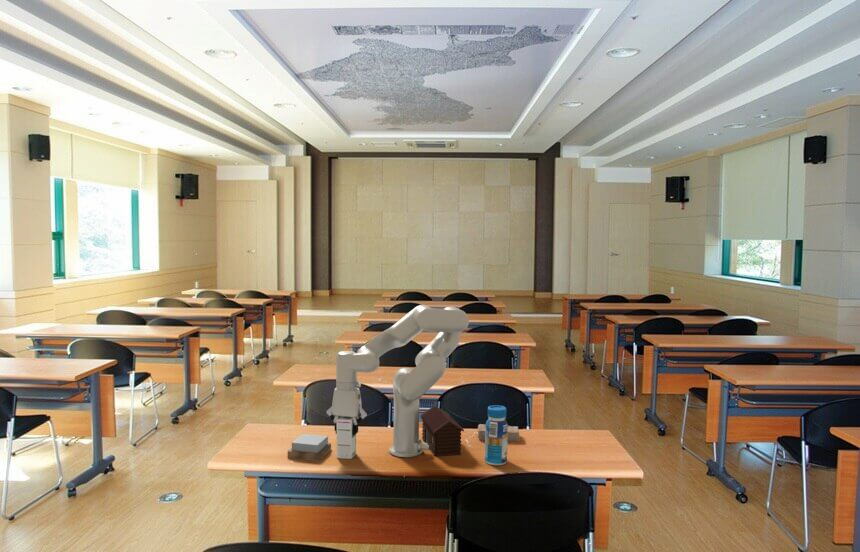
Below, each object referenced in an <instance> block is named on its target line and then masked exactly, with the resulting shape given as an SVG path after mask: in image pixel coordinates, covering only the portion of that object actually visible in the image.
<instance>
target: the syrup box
mask: <svg viewBox="0 0 860 552" xmlns="http://www.w3.org/2000/svg"><path fill="white" fill-rule="evenodd" d="M353 424H354V422H353V419H352V417H343V416H340V417H339V418H338V419H337V434H336V458H338V459H344V460H345V459H346V460H352V459H353V458H354V457H355V456H356V454H357V437H356V436H357V434H356V435H355V436H353Z"/></svg>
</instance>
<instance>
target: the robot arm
mask: <svg viewBox="0 0 860 552" xmlns="http://www.w3.org/2000/svg"><path fill="white" fill-rule="evenodd" d="M469 325H470V319H469V316H468V314H467V313H466V312H465V311H464V310H462V309H460V308H458V307H456V306H453V305H452V306H451V305H450V306H446V307H444V308H434V307H430V306H428V305H426V304H419V305H417V306H415V307H414V308H412V309H411V310H410V311H409V312H407V314H405V315H404V316H403V317H402V318H401V319H399V320H398V321H397V322H395V323H394V324H393V325H392V326H390V327H389V328H387V329H385V330H384V331H382V332H381V333H379V334H377V335H375V336H374V337H373V338H371V339H370V340H369V341H367V342H366V343H365V344H364V345H363V346H361V347H360V348H359V349H358V351H357V352H355V351H354V350H353V351H352V350H342V351H339V352H338V353H336V368H335V369H336V370H335V371H336V373H335V374H336V377H335V378H336V379H335V381H336V382H335V383H336V387H335V388H334V389H333V390H334V391H333V395H332V396H333V397H332V405H331V406H330V407H329V408H328V409H327V410H326V412H325V413H326V414H327V416H328V417H329V418H330V419H331V420H332V421H333V422H332V423H334V431H335V435H337V419H338V418H339V417H341V416H343V417H352V419H353V422H354V424H353V436H355V435H356V436H357V434H358V433H359V423H360V422H361V421H363V419H365V418H366V417H367V415H368V414H367V412H366V411H365V410H364V409H363V408H362V407H363V406H362V398H361V396H362V395H361V390H360V388H361V387H362V384H361V382H359V381H358V373H359V372H360V373H365V374H366V373H373V372H375V371H377V370H378V368H379V367H380V357H381V356H383V355H384V354H386V353H387V352H389V351H391V350H393V349H395V348H401V347H404V346H406V345H407V344H408V343H409V342H410V341H412V340H413V339H415V338H416V337H417V336H418V335H419V334H420V333H422V332H423V331H424V332H432V333H437V335H436V336H435V337H434V338H433V339H432V340H431V341H430V342H429V343H428V344H427V345H426V346H425V347H424V348H422V350H421V351H419V353H418V354H417V355H416V356H415V359H414V363H415V365H416V366H415V367H414V368H413V369H412V368H410V367H401V368H400V369H399V370H397V371H396V372H395V374H394V375H393V380H392V389H393V390H392V391H393V438H392V439H393V442H392V443H393V444H392V445H391V446H390V447H389V449H388V451H389V454H391V455H393V456H395V457H399V458H413V457H417V456H420V455H422V454H423V451H430V445H428V443H425V442H422V438H420V398H422V397H423V396H424V395H425V394H426V393H428V391H429V390H430V389H431V388H432V387H433V386H434V385H435V384H436V383H437V382H438V381H439V380H440V379H441V378H442V377H443V375H444V373H446V372H445V371H446V368H447V363H446V359H447V358H448V357H449V356H450V355H451V354H452V353H453V352H454V351H455V350H456V348H457V347H458V345H459V343H460V340H461V338H462V332H464V331H466V329H467V328H468V326H469ZM359 415H360V416H359Z"/></svg>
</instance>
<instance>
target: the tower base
mask: <svg viewBox="0 0 860 552" xmlns="http://www.w3.org/2000/svg"><path fill="white" fill-rule="evenodd" d="M331 448H332V442H328V444H327V445H326V446H325V447H324V448H323V449H322V450H321V451H319V452H318V453H310V452H300V451H292V447H291V448H289V450H287V458H288V459H296V460H298V459H299V460H306V461H314V462H315V461H316V462H319V461H320V460H321V459H322V458H323V457H324V456H325V455H327V454H328V453H329V452H330V451H331V450H332V449H331Z"/></svg>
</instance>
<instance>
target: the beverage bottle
mask: <svg viewBox="0 0 860 552" xmlns="http://www.w3.org/2000/svg"><path fill="white" fill-rule="evenodd" d="M487 417H488V419H487V420H486V422H485V427H486V430H485V441H484V461H485V462H486V464H488V465H491V466H503V465H505V464H506V463H507V462H508V431H507V429H508V426H509V424H508V422H507V418H506V417H507V407H505V406H504V405H499V404H498V405H497V404H494V405H489V406H488V407H487Z"/></svg>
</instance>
